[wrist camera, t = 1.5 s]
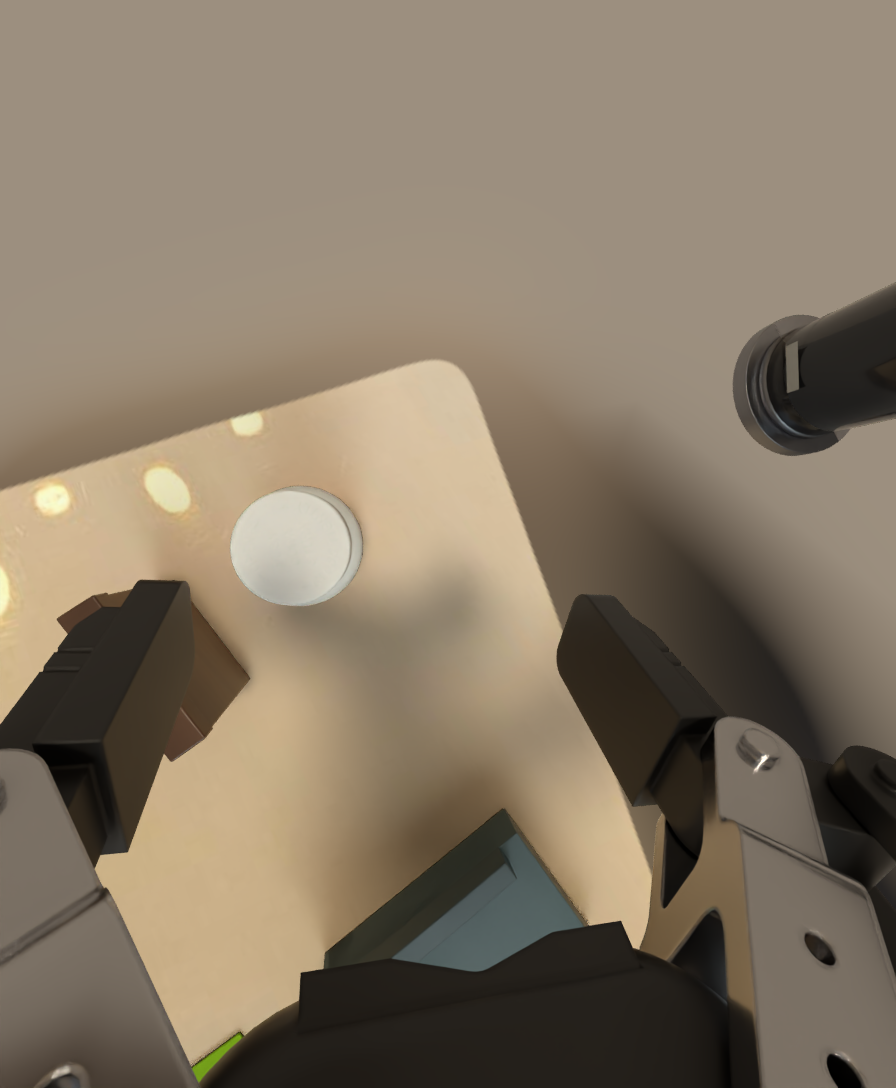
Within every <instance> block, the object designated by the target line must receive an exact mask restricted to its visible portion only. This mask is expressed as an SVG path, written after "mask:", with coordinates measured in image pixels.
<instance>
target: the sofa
mask: <svg viewBox="0 0 896 1088" xmlns="http://www.w3.org/2000/svg"><path fill="white" fill-rule="evenodd" d="M586 926H588V924H587V923H586V922H585V920H584V919H583V917H582V916H581V915H580V913H579V912H578V910H577V909H576V908H575V906H574V905H573V903H572V902H571V901H570V899H569V898H568V896H567V895H566V894H565V892H564V891H563V889H562V888H561V887H560V885H559V884H558V883H557V881H556V880H555V878H554V877H553V876H552V874H551V873H550V871H549V870H548V869H547V867H546V866H545V864H544V863H543V862H542V860H541V859H540V857H539V856H538V855H537V853H536V852H535V850H534V849H533V848H532V846H531V845H530V843H529V842H528V841H527V839H526V838H525V836H524V835H523V834H522V832H521V831H520V829H519V828H518V827H517V825H516V824H515V823H514V821H513V820H512V818H511V817H510V816H509V814H508V813H507V811H506V810H505V809H502V810H501V811H500V812H499V813H497V814H496V815H495V816H494V817H492V818H491V819H490V820H489V821H487V822H486V823H485V824H484V825H483V826H481V827H480V828H479V829H478V830H476V831H475V832H474V833H473V834H471V835H470V836H469V837H468V838H467V839H465V840H464V841H463V842H462V843H460V844H459V845H458V846H457V847H455V848H454V849H453V850H452V851H451V852H449V853H448V854H447V855H446V856H444V857H443V858H442V859H441V860H439V861H438V862H437V863H436V864H435V865H433V866H432V867H431V868H430V869H428V870H427V871H426V872H425V873H423V874H422V875H421V876H420V877H419V878H417V879H416V880H415V881H414V882H412V883H411V884H410V885H409V886H408V887H406V888H405V889H404V890H403V891H401V892H400V893H399V894H398V895H396V896H395V897H394V898H393V899H392V900H390V901H389V902H388V903H387V904H385V905H384V906H383V907H382V908H380V909H379V910H378V911H377V912H376V913H374V914H373V915H372V916H371V917H369V918H368V919H367V920H366V921H364V922H363V923H362V924H361V925H360V926H358V927H357V928H356V929H355V930H353V931H352V932H351V933H350V934H348V935H347V936H346V937H345V938H343V939H342V940H341V941H340V942H339V943H337V944H336V945H335V946H334V947H332V948H331V949H330V950H329V951H328V952H326V953H325V959H324V969H327V968H334V967H340V966H346V965H352V964H358V963H364V962H371V961H377V960H383V959H389V958H391V959H398V960H404V961H410V962H416V963H422V964H429V965H435V966H441V967H447V968H454V969H460V970H466V971H475V972H478V971H483V970H486V969H488V968H490V967H492V966H493V965H495V964H497V963H499V962H500V961H502V960H504V959H506V958H507V957H509V956H511V955H513V954H514V953H516V952H518V951H520V950H521V949H523V948H525V947H527V946H528V945H530V944H532V943H534V942H535V941H537V940H539V939H541V938H542V937H544V936H546V935H548V934H549V933H551V932H555V931H561V930H568V929H574V928H580V927H586Z"/></svg>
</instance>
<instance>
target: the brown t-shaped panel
mask: <svg viewBox="0 0 896 1088" xmlns="http://www.w3.org/2000/svg"><path fill="white" fill-rule="evenodd" d="M172 581H175V580H172ZM131 590H132V589H131ZM131 590H127V591H122V592H118V593H113V594H109V595H108V594H107V593H103V594H98V595H94V596H91V597H89V598H88V599H86V600H85V601H83V602H82V603H80V604H79V605H77V606H75V607H74V608H72V609H71V610H69V611H68V612H66V613H64V614H63V615H61V616H60V617H58V618H57V621H58V622H59V624H60V625H61V626H62V627H63V629H64V630H65V631H66V632H67V633H68V634H69V632H70V631H71V630H72V628H73V627H74V626H75V625H76V624H77V623H79V622H80V621H82V620H83V619H85V618H86V617H88V616H89V615H91V614H92V613H94V612H95V611H97V610H98V609H100V608H101V607H121V606H122V604H123V603H124V601H125V600H126V598H127V597H128V595H129V593H130V592H131ZM191 609H192V619H193V630H194V641H195V660H194V667H193V672H192V677H191V680H190V683H189V685H188V688H187V691H186V694H185V696H184V699H183V702H182V705H181V707H180V710H179V713H178V716H177V718H176V721H175V724H174V727H173V729H172V732H171V735H170V738H169V740H168V743H167V746H166V749H165V751H164V754H165V755H166V756H167V758H168V759H169V760H170V761H171V762H172V761H174V760H176V759H177V758H179V757H180V756H181V755H183V754H184V753H186V752H187V751H188V750H190V749H191V748H193V747H194V746H195V745H197V744H198V743H200V742H201V741H202V740H204V739H205V738H206V737H207V736H208V734H209V733H210V732H211V730H212V729H213V728H212V726H213V725H214V724H215V722H216V721H217V720H218V719H219V717H220V716H221V715H222V714H223V712H224V711H225V710H226V709H227V707H228V706H229V705H230V704H231V702H232V701H233V700H234V698H235V697H236V696H237V695H238V693H239V692H240V691H241V690H242V688H243V687H244V686H245V685H246V683H247V682H248V681H249V680H250V678H249V677H248V675H247V674H246V673H245V671H244V670H243V669H242V667H241V666H240V665H239V664H238V662H237V661H236V660H235V658H234V657H233V656H232V654H231V653H230V652H229V650H228V649H227V648H226V646H225V645H224V644H223V643H222V641H221V640H220V639H219V637H218V636H217V635H216V633H215V632H214V631H213V629H212V628H211V627H210V626H209V624H208V623H207V622H206V620H205V619H204V618H203V616H202V615H201V614H200V612H199V611H198V610H197V608H196V607H195V606H194V605H193V603H192V602H191Z"/></svg>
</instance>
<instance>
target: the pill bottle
mask: <svg viewBox="0 0 896 1088" xmlns="http://www.w3.org/2000/svg"><path fill="white" fill-rule="evenodd" d="M230 555H231V560H232V564H233V567H234V569H235V571H236V574H237V575H238V577H239V579H240V580H241V581H242V583H243V584H244V585H245V586H246V587H247V588H248V589H249V590H250V591H251V592H252V593H254V594H255V595H257V596H258V597H260V598H262V599H264V600H266V601H269V602H272V603H275V604H280V605H291V606H309V605H314V604H318V603H321V602H324V601H326V600H328V599H330V598H332V597H334V596H335V595H337V594H339V593H340V592H341V591H342V590H343V589H345V588H346V587H347V585H348V584H349V583H350V582H351V581H352V579H353V578H354V576H355V574H356V572H357V571H358V568H359V565H360V563H361V559H362V555H363V537H362V533H361V528H360V526H359V523H358V521H357V519H356V518H355V516H354V514H353V513H352V511H351V510H350V509H349V508H348V506H347V505H346V504H345V503H343V502H342V501H341V500H340V499H339V498H337V497H336V496H334V495H333V494H331V493H329V492H327V491H324V490H322V489H319V488H315V487H310V486H290V487H286V488H282V489H279V490H276V491H274V492H271V493H269V494H267V495H265V496H263V497H261V498H259V499H257V500H256V501H254V502H253V503H252V504H250V505H249V506H248V507H247V508H246V509H245V510H244V511H243V513H242V514H241V515H240V517H239V519H238V520H237V522H236V524H235V526H234V529H233V532H232V536H231V541H230Z"/></svg>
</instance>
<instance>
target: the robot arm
mask: <svg viewBox="0 0 896 1088" xmlns="http://www.w3.org/2000/svg"><path fill="white" fill-rule="evenodd" d="M759 388H760V394H761V398H762V402H763V404H764V407H765V409H766V411H767V413H768V414H769V416H770V418H771V419H772V420H773V421H774V423H775V424H776V425H777V426H778V427H780V428H781V429H782V430H783V431H785V432H787V433H788V434H790V435H793V436H796V437H799V438H816V437H821V436H825V435H828V434H830V433H833V432H837V431H842V430H846V429H851V428H855V427H861V426H865V425H869V424H874V423H878V422H883V421H887V420H892V419H896V282H895V283H893V284H891V285H889V286H887V287H885V288H882V289H880V290H878V291H876V292H874V293H872V294H870V295H868V296H866V297H864V298H862V299H860V300H857V301H855V302H853V303H851V304H849V305H847V306H845V307H843V308H841V309H839V310H836V311H834V312H832V313H830V314H828V315H825V316H823V317H821V318H819V319H817V320H815V321H813V322H811V323H809V324H807V325H805V326H803V327H799V328H796V329H794V330H792V331H790V332H787V333H785V334H784V335H782V336H780V337H779V338H778V339H777V340H776V341H775V342H774V343H773V344H772V345H771V346H770V347H769V349H768V350H767V352H766V354H765V356H764V359H763V361H762V364H761V369H760V375H759ZM194 660H195V641H194V630H193V619H192V609H191V598H190V589H189V585H188V583H187V582H186V581H167V580H139V581H138V582H137V583H136V584H135V586H134V587H133V589H132V590H131V592H130V593H129V595H128V597H127V598H126V600H125V601H124V603H123V604H122V606H121V607H101V608H100V609H98V610H97V611H95V612H94V613H92V614H91V615H89V616H88V617H86V618H85V619H83V620H82V621H80V622H79V623H77V624H76V625H75V626H74V627H73V628H72V630H71V631H70V632H69V634H68V635H67V636H66V638H65V639H64V640H63V642H62V643H61V644H60V646H59V647H58V652H54V654H53V655H52V656H51V658H50V659H49V660H48V662H47V663H46V664H45V666H44V670H43V672H39V674H38V675H37V676H36V678H35V679H34V680H33V682H32V683H31V684H30V686H29V687H28V688H27V690H26V691H25V692H24V694H23V695H22V696H21V698H20V699H19V700H18V702H17V703H16V704H15V706H14V707H13V708H12V710H11V711H10V712H9V714H8V715H7V716H6V718H5V719H4V720H3V722H2V723H1V724H0V1088H896V910H895V909H894V908H893V906H891V904H890V903H889V902H888V900H887V899H886V898H885V897H884V896H883V894H882V893H881V892H880V891H879V890H878V888H877V887H876V886H875V885H876V884H877V883H878V882H879V881H880V880H881V879H882V878H883V877H884V876H885V875H886V874H887V873H888V872H889V871H890V870H891V869H892V868H893V867H894V866H896V759H894V758H893V757H891V756H889V755H887V754H885V753H882V752H880V751H877V750H875V749H871V748H868V747H864V746H850V747H848V748H846V750H844V752H843V753H842V754H841V755H840V757H839V758H838V759H837V761H836V762H835V763H834V764H833V765H832V764H828V763H823V762H819V761H815V760H811V759H806V758H803V757H799V756H798V755H797V754H796V752H795V751H794V750H793V749H792V748H791V747H790V746H789V745H788V744H787V743H786V742H785V741H784V740H783V739H781V738H780V737H779V736H778V735H776V734H775V733H773V732H772V731H770V730H769V729H767V728H765V727H764V726H762V725H759V724H757V723H755V722H753V721H750V720H747V719H744V718H740V717H728V715H727V714H726V713H725V712H724V711H723V710H722V709H721V708H720V706H719V705H718V704H717V703H716V702H715V701H714V700H713V698H712V697H711V696H710V695H709V694H708V693H707V691H706V690H705V689H704V688H703V687H702V686H701V685H700V684H699V682H698V681H697V680H696V679H695V678H694V677H693V676H692V674H691V673H690V672H689V671H688V670H687V669H686V668H685V667H684V666H681V662H680V661H679V660H678V659H677V657H676V656H675V655H674V654H673V653H672V652H669V649H668V647H667V646H666V645H665V644H664V643H663V641H662V640H661V639H660V638H659V637H658V636H657V635H656V634H655V632H653V631H652V630H650V629H649V628H648V627H646V626H645V625H644V624H642V623H641V622H639V621H638V620H636V619H635V618H633V617H632V616H631V615H630V614H629V612H628V611H627V610H626V609H625V608H624V607H623V605H622V604H621V603H620V602H619V601H618V600H617V599H616V598H615V597H614V596H611V595H584V594H581V595H579V596H577V597H576V598H575V600H574V602H573V605H572V607H571V611H570V613H569V616H568V619H567V622H566V625H565V628H564V630H563V633H562V636H561V639H560V642H559V645H558V648H557V667H558V671H559V673H560V676H561V678H562V679H563V681H564V683H565V685H566V687H567V688H568V690H569V692H570V694H571V696H572V697H573V699H574V701H575V703H576V705H577V707H578V708H579V710H580V712H581V714H582V716H583V717H584V719H585V721H586V723H587V725H588V726H589V728H590V730H591V732H592V734H593V736H594V737H595V739H596V741H597V743H598V745H599V746H600V748H601V750H602V752H603V754H604V755H605V757H606V759H607V761H608V763H609V765H610V766H611V768H612V770H613V772H614V774H615V775H616V777H617V779H618V781H619V783H620V785H621V786H622V788H623V790H624V792H625V794H626V795H627V797H628V799H629V801H630V803H631V804H632V806H633V807H635V806H646V805H656V804H658V806H659V808H660V809H661V811H662V815H661V817H660V818H659V820H658V822H657V827H656V837H655V850H654V861H653V873H652V885H651V897H650V909H649V918H648V924H647V928H646V932H645V935H644V938H643V940H642V943H641V945H640V949H639V950H638V949H635V948H633V947H632V945H631V943H630V941H629V938H628V936H627V934H626V931H625V929H624V927H623V925H622V922H621V921H617V922H611V923H604V924H598V925H592V926H586V927H580V928H574V929H568V930H561V931H555V932H551V933H549V934H548V935H546V936H544V937H542V938H541V939H539V940H537V941H535V942H534V943H532V944H530V945H528V946H527V947H525V948H523V949H521V950H520V951H518V952H516V953H514V954H513V955H511V956H509V957H507V958H506V959H504V960H502V961H500V962H499V963H497V964H495V965H493V966H492V967H490V968H488V969H486V970H483V971H478V972H475V971H466V970H460V969H454V968H447V967H441V966H435V965H429V964H422V963H416V962H410V961H404V960H398V959H391V958H389V959H383V960H377V961H371V962H364V963H358V964H352V965H346V966H340V967H334V968H327V969H321V970H315V971H309V972H303V973H301V978H300V995H299V1001H297V1002H295V1003H293V1004H292V1005H290V1006H288V1007H286V1008H284V1009H282V1010H280V1011H278V1012H276V1013H275V1014H274V1015H272V1016H271V1017H269V1018H268V1019H266V1020H265V1021H263V1022H262V1023H260V1024H259V1025H258V1026H256V1027H255V1028H253V1029H252V1030H251V1031H250V1032H249V1033H247V1034H246V1035H245V1036H244V1037H243V1038H242V1039H240V1040H239V1041H238V1042H237V1043H236V1044H235V1045H233V1046H232V1047H231V1048H230V1049H229V1050H228V1051H227V1052H226V1053H225V1054H224V1055H223V1056H222V1057H221V1058H220V1059H219V1061H218V1062H217V1063H216V1064H215V1065H214V1066H213V1067H212V1068H211V1069H210V1070H209V1071H208V1072H207V1073H206V1074H205V1076H204V1077H203V1078H202V1079H201V1081H200V1082H199V1083H198V1080H197V1078H196V1076H195V1074H194V1072H193V1070H192V1067H191V1065H190V1063H189V1061H188V1059H187V1057H186V1054H185V1052H184V1050H183V1048H182V1046H181V1044H180V1041H179V1039H178V1037H177V1035H176V1033H175V1031H174V1028H173V1026H172V1024H171V1022H170V1020H169V1018H168V1016H167V1013H166V1011H165V1009H164V1007H163V1005H162V1003H161V1000H160V998H159V996H158V994H157V992H156V990H155V987H154V985H153V983H152V981H151V979H150V977H149V974H148V972H147V970H146V968H145V966H144V964H143V961H142V959H141V957H140V955H139V953H138V951H137V948H136V946H135V944H134V942H133V940H132V938H131V935H130V933H129V931H128V929H127V927H126V925H125V922H124V920H123V918H122V916H121V914H120V912H119V909H118V907H117V905H116V903H115V901H114V899H113V897H112V896H111V894H110V892H109V890H108V889H107V888H103V886H102V884H101V882H100V880H99V878H98V876H97V874H96V872H95V867H96V864H97V862H98V859H99V857H100V855H104V854H115V853H125V852H128V850H129V848H130V845H131V842H132V839H133V837H134V834H135V831H136V828H137V826H138V823H139V820H140V817H141V815H142V812H143V809H144V806H145V804H146V801H147V798H148V795H149V793H150V790H151V787H152V784H153V782H154V779H155V776H156V773H157V771H158V768H159V765H160V762H161V760H162V757H163V754H164V751H165V749H166V746H167V743H168V740H169V738H170V735H171V732H172V729H173V727H174V724H175V721H176V718H177V716H178V713H179V710H180V707H181V705H182V702H183V699H184V696H185V694H186V691H187V688H188V685H189V683H190V680H191V677H192V672H193V667H194Z"/></svg>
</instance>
